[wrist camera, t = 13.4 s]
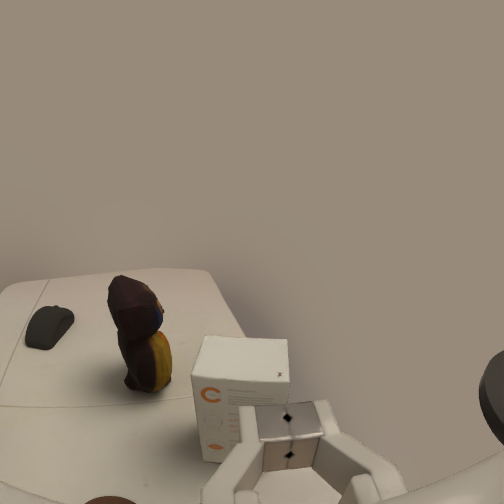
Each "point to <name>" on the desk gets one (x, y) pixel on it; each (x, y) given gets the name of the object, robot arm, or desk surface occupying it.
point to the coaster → (110, 500)
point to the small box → (235, 386)
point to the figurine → (140, 334)
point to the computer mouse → (48, 327)
